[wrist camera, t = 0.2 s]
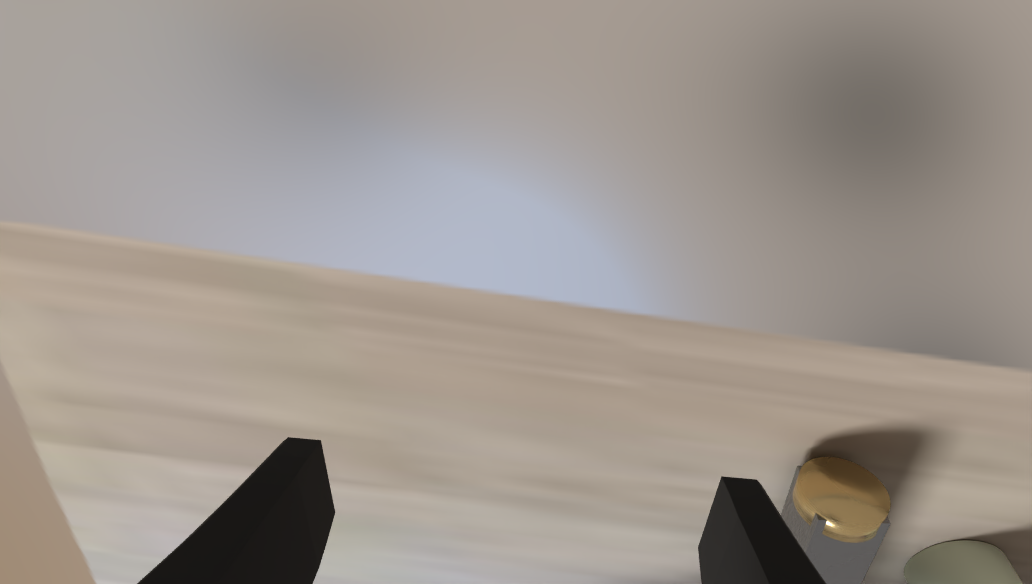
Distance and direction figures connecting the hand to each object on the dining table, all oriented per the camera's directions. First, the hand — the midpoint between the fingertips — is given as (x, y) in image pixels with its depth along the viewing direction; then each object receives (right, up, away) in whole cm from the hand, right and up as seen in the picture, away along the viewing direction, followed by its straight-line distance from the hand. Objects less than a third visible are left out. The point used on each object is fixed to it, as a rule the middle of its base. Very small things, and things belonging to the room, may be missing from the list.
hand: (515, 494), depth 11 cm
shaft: (+12, -8, +16) cm, 22 cm away
